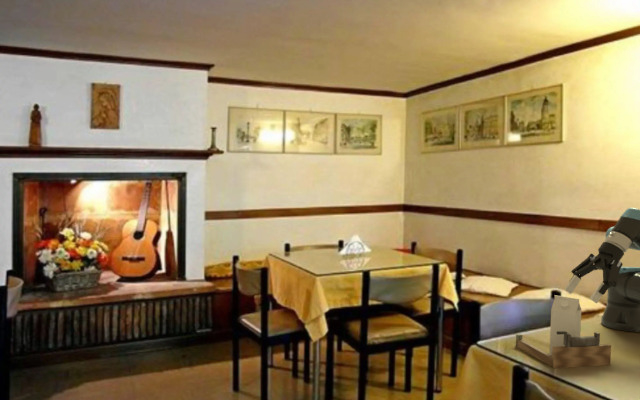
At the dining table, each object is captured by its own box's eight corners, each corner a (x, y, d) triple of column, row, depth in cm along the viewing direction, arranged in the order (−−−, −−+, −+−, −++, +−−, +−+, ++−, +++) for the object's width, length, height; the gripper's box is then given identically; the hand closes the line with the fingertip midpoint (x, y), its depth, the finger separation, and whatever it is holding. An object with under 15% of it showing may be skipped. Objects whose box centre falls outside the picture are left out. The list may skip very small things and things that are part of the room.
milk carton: (555, 351, 166) (557, 293, 165) (579, 356, 161) (582, 297, 160) (549, 357, 160) (551, 297, 159) (573, 362, 156) (576, 301, 155)
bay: (566, 343, 174) (567, 312, 173) (612, 365, 153) (614, 330, 153) (515, 345, 170) (516, 314, 170) (556, 369, 150) (557, 333, 149)
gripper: (583, 236, 191) (550, 282, 190) (633, 245, 166) (597, 298, 165) (597, 248, 192) (565, 294, 191) (649, 259, 167) (613, 311, 166)
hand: (579, 296), depth 178 cm, fingers open, 13 cm apart
